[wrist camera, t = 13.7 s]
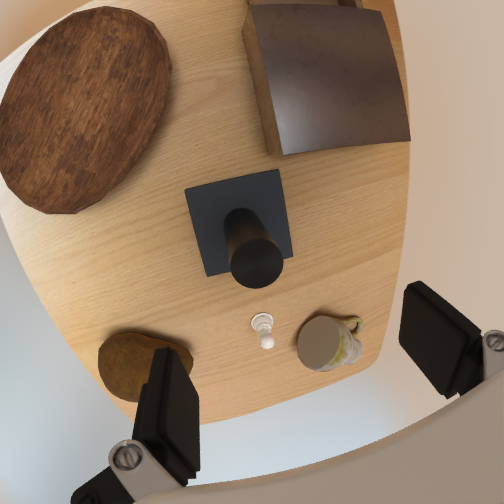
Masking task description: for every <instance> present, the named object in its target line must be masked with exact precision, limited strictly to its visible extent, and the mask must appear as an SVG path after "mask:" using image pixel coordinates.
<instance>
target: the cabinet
mask: <svg viewBox="0 0 504 504" xmlns="http://www.w3.org/2000/svg"><path fill="white" fill-rule="evenodd" d="M242 36H243V40H244V44H245V49H246V53H247V57H248V62H249V66H250V71H251V75H252V80H253V84H254V89H255V94H256V99H257V103H258V108H259V113H260V118H261V123H262V128H263V133H264V138H265V143H266V148H267V153H268V155H281V156H285V155H291V154H297V153H303V152H310V151H317V150H324V149H332V148H340V147H349V146H358V145H368V144H379V143H392V142H407V141H411V137H410V130H409V123H408V117H407V111H406V105H405V100H404V94H403V89H402V85H401V80H400V76H399V72H398V67H397V63H396V60H395V56H394V52H393V48H392V45H391V42H390V38H389V35H388V32H387V29H386V26H385V23H384V20H383V17H382V14H381V11H376V10H369V9H363V8H356V7H347V6H337V5H325V4H298V3H287V4H260V5H249V8H248V12H247V15H246V19H245V22H244V26H243V29H242Z"/></svg>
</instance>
